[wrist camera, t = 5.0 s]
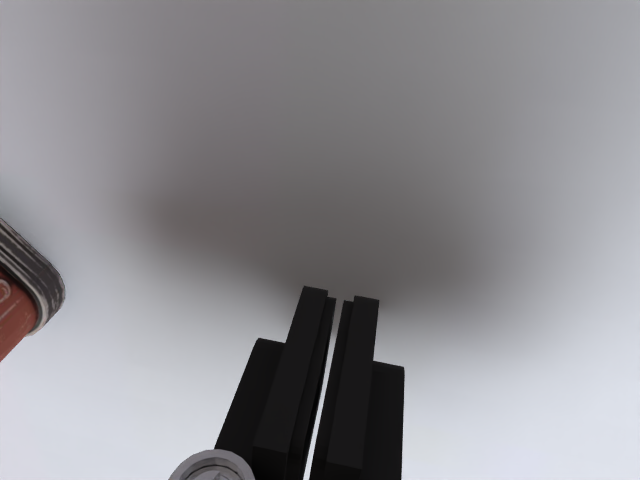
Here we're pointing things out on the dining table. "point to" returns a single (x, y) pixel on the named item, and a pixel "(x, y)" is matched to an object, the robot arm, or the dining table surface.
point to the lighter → (24, 290)
